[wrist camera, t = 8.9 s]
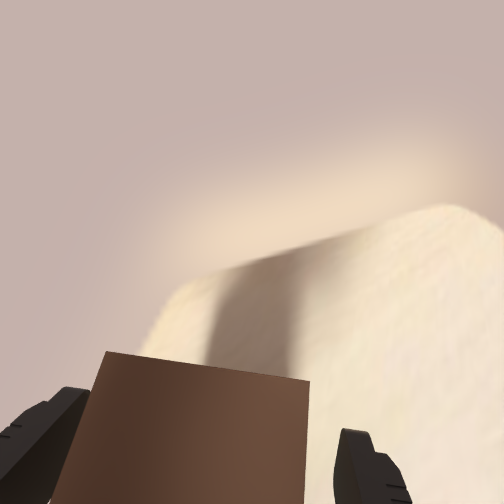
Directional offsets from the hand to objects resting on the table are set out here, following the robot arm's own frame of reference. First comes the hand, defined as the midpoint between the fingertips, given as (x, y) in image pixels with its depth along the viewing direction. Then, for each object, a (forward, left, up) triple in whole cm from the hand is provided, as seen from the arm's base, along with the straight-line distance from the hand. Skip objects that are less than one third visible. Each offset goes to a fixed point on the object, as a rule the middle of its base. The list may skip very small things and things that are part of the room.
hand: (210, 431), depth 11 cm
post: (0, +1, -6) cm, 7 cm away
